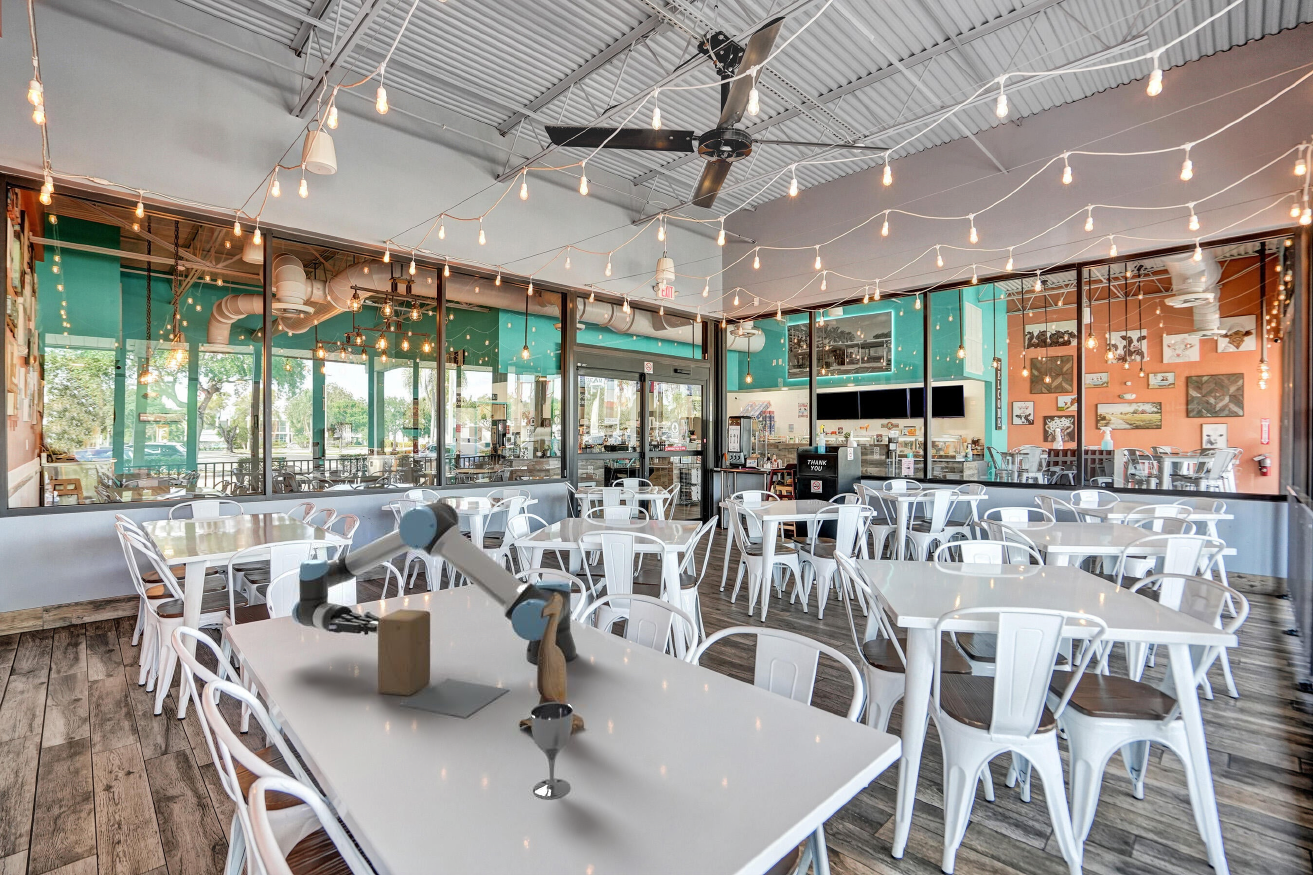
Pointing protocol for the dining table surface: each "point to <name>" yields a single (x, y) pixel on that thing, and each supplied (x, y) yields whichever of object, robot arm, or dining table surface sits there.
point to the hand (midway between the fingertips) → (387, 629)
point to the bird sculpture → (552, 663)
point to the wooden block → (403, 652)
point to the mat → (455, 698)
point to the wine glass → (551, 743)
